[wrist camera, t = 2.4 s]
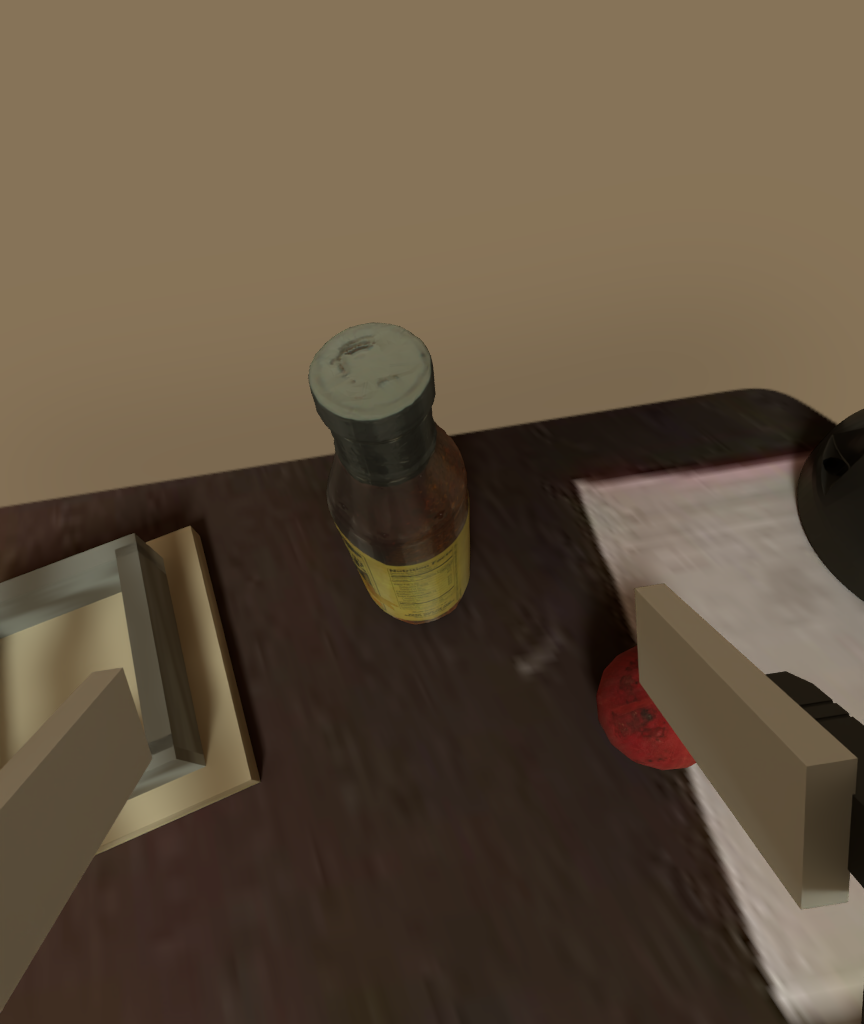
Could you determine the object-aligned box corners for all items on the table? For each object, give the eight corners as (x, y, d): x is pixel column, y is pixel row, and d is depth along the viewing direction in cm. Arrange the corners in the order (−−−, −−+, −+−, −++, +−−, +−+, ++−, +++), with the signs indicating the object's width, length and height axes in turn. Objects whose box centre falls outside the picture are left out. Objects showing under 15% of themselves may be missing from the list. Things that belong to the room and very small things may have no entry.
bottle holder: (200, 536, 39) (164, 498, 34) (260, 781, 31) (225, 773, 27) (-51, 631, 37) (-122, 603, 32) (-49, 918, 29) (-140, 933, 25)
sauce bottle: (376, 533, 38) (293, 282, 21) (473, 537, 38) (471, 282, 20) (362, 632, 35) (251, 434, 18) (467, 638, 34) (460, 440, 17)
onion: (625, 796, 30) (671, 786, 23) (565, 692, 33) (590, 654, 26) (719, 743, 31) (791, 717, 24) (653, 646, 34) (701, 597, 27)
